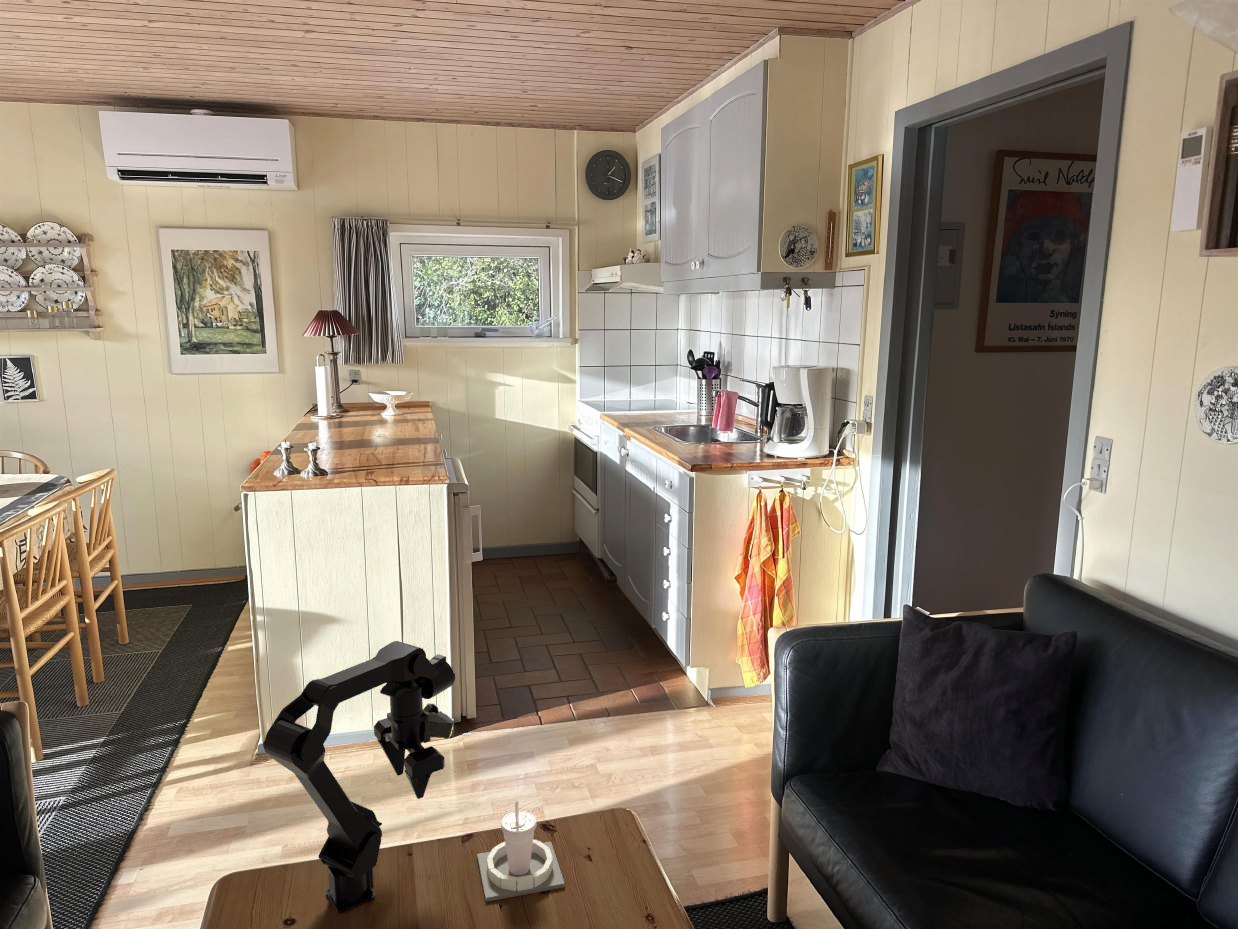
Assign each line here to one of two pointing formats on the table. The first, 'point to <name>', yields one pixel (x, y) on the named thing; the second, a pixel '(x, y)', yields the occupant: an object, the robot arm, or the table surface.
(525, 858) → the smoothie
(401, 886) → the table surface
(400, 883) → the table surface
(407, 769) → the robot arm
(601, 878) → the table surface
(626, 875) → the table surface
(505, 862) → the socket board
